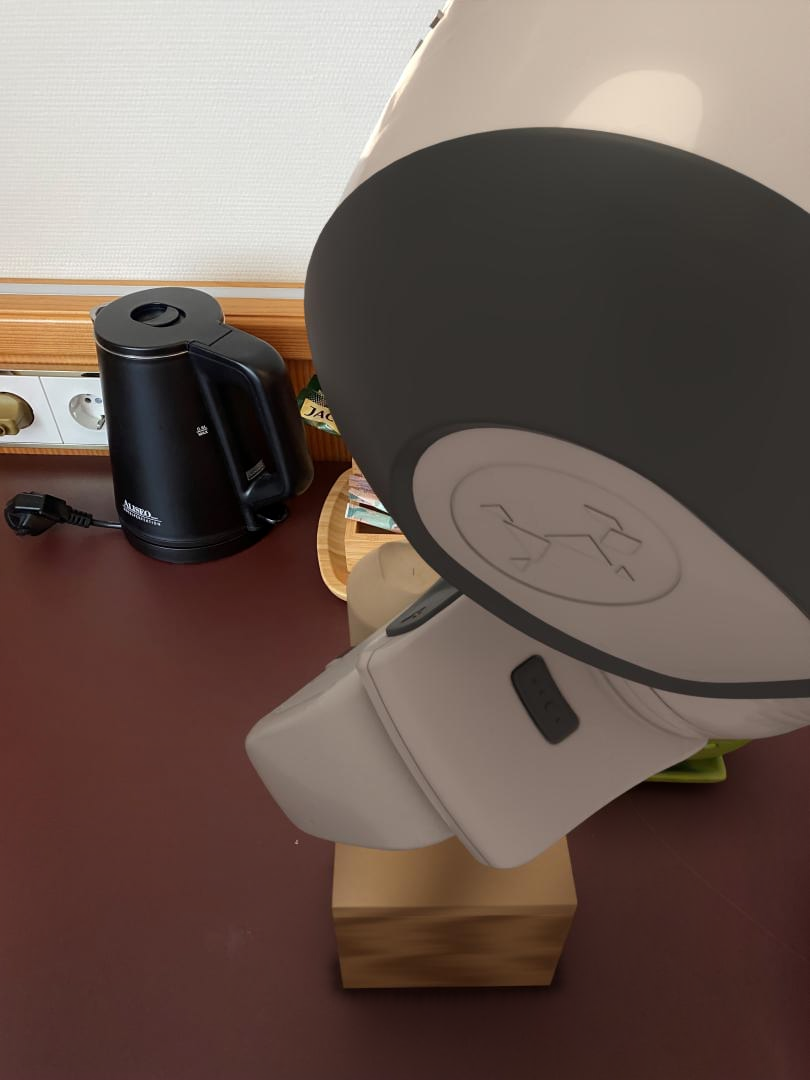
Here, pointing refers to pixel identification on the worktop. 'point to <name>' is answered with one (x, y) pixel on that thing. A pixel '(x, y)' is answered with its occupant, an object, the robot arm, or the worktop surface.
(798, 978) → the worktop surface
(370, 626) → the candle
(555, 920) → the wooden crate-shaped block
